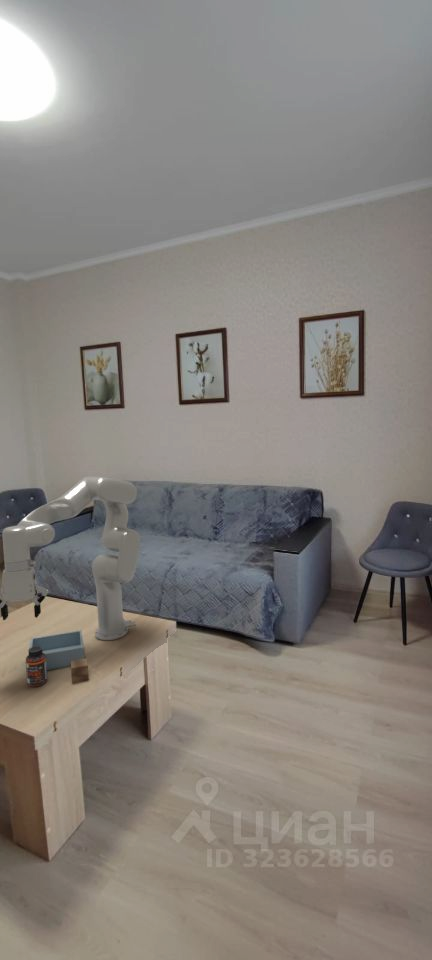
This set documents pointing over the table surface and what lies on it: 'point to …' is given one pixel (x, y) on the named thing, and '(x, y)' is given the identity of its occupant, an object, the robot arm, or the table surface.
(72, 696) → the table surface
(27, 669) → the supplement bottle
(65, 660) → the tote
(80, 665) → the walnut cube
